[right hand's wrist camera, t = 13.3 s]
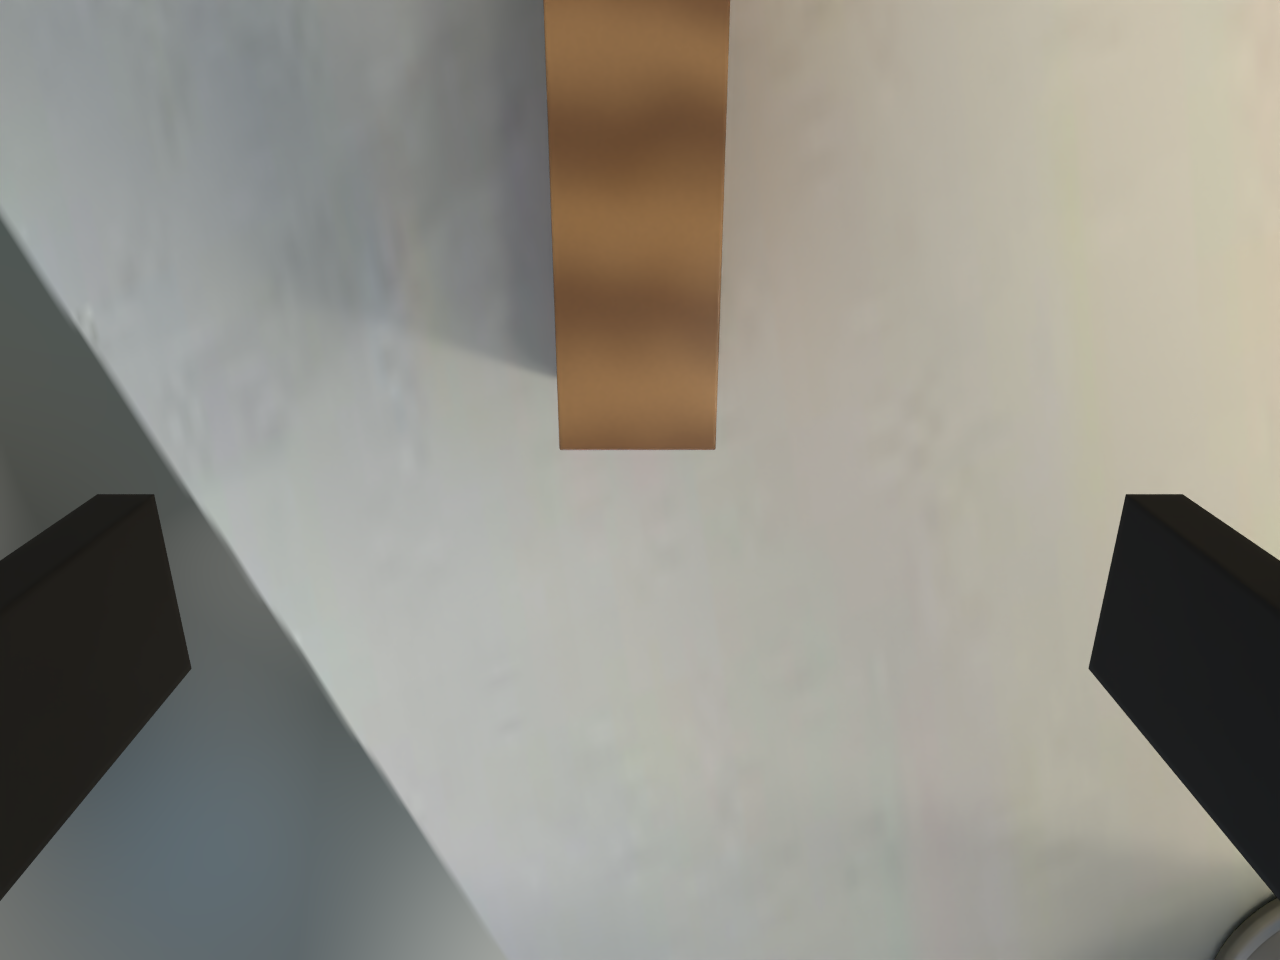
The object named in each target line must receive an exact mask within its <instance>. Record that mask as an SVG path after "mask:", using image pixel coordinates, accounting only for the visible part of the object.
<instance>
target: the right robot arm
mask: <svg viewBox="0 0 1280 960" xmlns="http://www.w3.org/2000/svg"><path fill="white" fill-rule="evenodd" d="M190 670H191V664H190V660H189V655H188V650H187V646H186V641H185V636H184V632H183V627H182V622H181V618H180V613H179V609H178V604H177V599H176V594H175V590H174V585H173V581H172V576H171V571H170V567H169V562H168V557H167V553H166V548H165V543H164V539H163V534H162V529H161V525H160V520H159V515H158V511H157V506H156V501H155V497H154V494H97V495H96V496H94V497H93V498H91V499H90V500H88V501H87V502H86V503H84V504H83V505H81V506H80V507H78V508H77V509H75V510H74V511H72V512H71V513H69V514H68V515H66V516H65V517H64V518H62V519H61V520H59V521H58V522H56V523H55V524H53V525H52V526H50V527H49V528H47V529H46V530H45V531H43V532H42V533H40V534H39V535H37V536H36V537H34V538H33V539H31V540H30V541H28V542H27V543H25V544H24V545H23V546H21V547H20V548H18V549H17V550H15V551H14V552H12V553H11V554H9V555H8V556H6V557H5V558H4V559H2V560H1V561H0V900H1V899H2V898H3V897H4V896H5V894H6V893H7V892H8V891H9V890H10V888H11V887H12V886H13V885H14V883H15V882H16V881H17V880H18V879H19V877H20V876H21V875H22V874H23V873H24V871H25V870H26V869H27V868H28V866H29V865H30V864H31V863H32V862H33V860H34V859H35V858H36V857H37V856H38V854H39V853H40V852H41V851H42V849H43V848H44V847H45V846H46V845H47V843H48V842H49V841H50V840H51V839H52V837H53V836H54V835H55V834H56V832H57V831H58V830H59V829H60V827H61V826H62V825H63V824H64V823H65V821H66V820H67V819H68V818H69V817H70V815H71V814H72V813H73V812H74V811H75V809H76V808H77V807H78V806H79V804H80V803H81V802H82V801H83V800H84V798H85V797H86V796H87V795H88V794H89V792H90V791H91V790H92V789H93V787H94V786H95V785H96V784H97V783H98V781H99V780H100V779H101V778H102V777H103V775H104V774H105V773H106V772H107V770H108V769H109V768H110V767H111V766H112V764H113V763H114V762H115V761H116V759H117V758H118V757H119V756H120V755H121V753H122V752H123V751H124V750H125V749H126V747H127V746H128V745H129V744H130V743H131V741H132V740H133V739H134V738H135V736H136V735H137V734H138V733H139V732H140V730H141V729H142V728H143V727H144V726H145V724H146V723H147V722H148V721H149V719H150V718H151V717H152V716H153V715H154V713H155V712H156V711H157V710H158V709H159V707H160V706H161V705H162V704H163V702H164V701H165V700H166V699H167V698H168V696H169V695H170V694H171V693H172V692H173V690H174V689H175V688H176V687H177V685H178V684H179V683H180V682H181V681H182V679H183V678H184V677H185V676H186V675H187V673H188V672H189V671H190ZM1089 670H1090V671H1091V672H1092V673H1093V675H1094V676H1095V677H1096V678H1097V679H1098V681H1099V682H1100V683H1101V684H1102V685H1103V687H1104V688H1105V689H1106V690H1107V692H1108V693H1109V694H1110V695H1111V696H1112V698H1113V699H1114V700H1115V701H1116V702H1117V704H1118V705H1119V706H1120V707H1121V709H1122V710H1123V711H1124V712H1125V713H1126V715H1127V716H1128V717H1129V718H1130V719H1131V721H1132V722H1133V723H1134V724H1135V726H1136V727H1137V728H1138V729H1139V730H1140V732H1141V733H1142V734H1143V735H1144V736H1145V738H1146V739H1147V740H1148V741H1149V743H1150V744H1151V745H1152V746H1153V747H1154V749H1155V750H1156V751H1157V752H1158V753H1159V755H1160V756H1161V757H1162V758H1163V760H1164V761H1165V762H1166V763H1167V764H1168V766H1169V767H1170V768H1171V769H1172V770H1173V772H1174V773H1175V774H1176V775H1177V777H1178V778H1179V779H1180V780H1181V781H1182V783H1183V784H1184V785H1185V786H1186V787H1187V789H1188V790H1189V791H1190V792H1191V794H1192V795H1193V796H1194V797H1195V798H1196V800H1197V801H1198V802H1199V803H1200V805H1201V806H1202V807H1203V808H1204V809H1205V811H1206V812H1207V813H1208V814H1209V815H1210V817H1211V818H1212V819H1213V820H1214V822H1215V823H1216V824H1217V825H1218V826H1219V828H1220V829H1221V830H1222V831H1223V832H1224V834H1225V835H1226V836H1227V837H1228V839H1229V840H1230V841H1231V842H1232V843H1233V845H1234V846H1235V847H1236V848H1237V849H1238V851H1239V852H1240V853H1241V854H1242V856H1243V857H1244V858H1245V859H1246V860H1247V862H1248V863H1249V864H1250V865H1251V866H1252V868H1253V869H1254V870H1255V871H1256V873H1257V874H1258V875H1259V876H1260V877H1261V879H1262V880H1263V881H1264V882H1265V883H1266V885H1267V886H1268V887H1269V888H1270V890H1271V891H1272V892H1273V893H1274V894H1275V896H1276V897H1277V898H1276V899H1274V900H1273V901H1271V902H1269V903H1268V904H1266V905H1265V906H1263V907H1262V908H1260V909H1259V910H1258V911H1256V912H1255V913H1254V914H1252V915H1251V916H1250V917H1249V918H1248V919H1246V920H1245V921H1244V922H1243V923H1242V924H1241V925H1240V926H1239V927H1238V928H1237V929H1236V930H1235V931H1234V932H1233V933H1232V934H1231V936H1230V937H1229V938H1228V939H1227V940H1226V942H1225V943H1224V945H1223V946H1222V947H1221V949H1220V951H1219V952H1218V954H1217V956H1216V958H1215V960H1280V561H1279V560H1278V559H1276V558H1275V557H1274V556H1272V555H1271V554H1269V553H1268V552H1266V551H1265V550H1263V549H1262V548H1260V547H1259V546H1257V545H1256V544H1254V543H1253V542H1252V541H1250V540H1249V539H1247V538H1246V537H1244V536H1243V535H1241V534H1240V533H1238V532H1237V531H1235V530H1234V529H1233V528H1231V527H1230V526H1228V525H1227V524H1225V523H1224V522H1222V521H1221V520H1219V519H1218V518H1216V517H1215V516H1214V515H1212V514H1211V513H1209V512H1208V511H1206V510H1205V509H1203V508H1202V507H1200V506H1199V505H1197V504H1196V503H1194V502H1193V501H1192V500H1190V499H1189V498H1187V497H1186V496H1184V495H1183V494H1126V497H1125V501H1124V506H1123V511H1122V515H1121V520H1120V525H1119V529H1118V534H1117V539H1116V543H1115V548H1114V553H1113V557H1112V562H1111V566H1110V571H1109V576H1108V580H1107V585H1106V590H1105V594H1104V599H1103V604H1102V608H1101V613H1100V618H1099V622H1098V627H1097V632H1096V636H1095V641H1094V646H1093V650H1092V655H1091V660H1090V664H1089Z"/></svg>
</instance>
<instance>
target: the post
mask: <svg viewBox="0 0 1280 960" xmlns="http://www.w3.org/2000/svg"><path fill="white" fill-rule="evenodd" d="M543 2H544V30H545V57H546V85H547V113H548V141H549V169H550V196H551V224H552V252H553V280H554V307H555V335H556V363H557V391H558V419H559V446H560V450H714V449H715V446H716V416H717V385H718V355H719V324H720V293H721V263H722V232H723V202H724V171H725V140H726V110H727V79H728V49H729V18H730V0H543Z"/></svg>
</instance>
